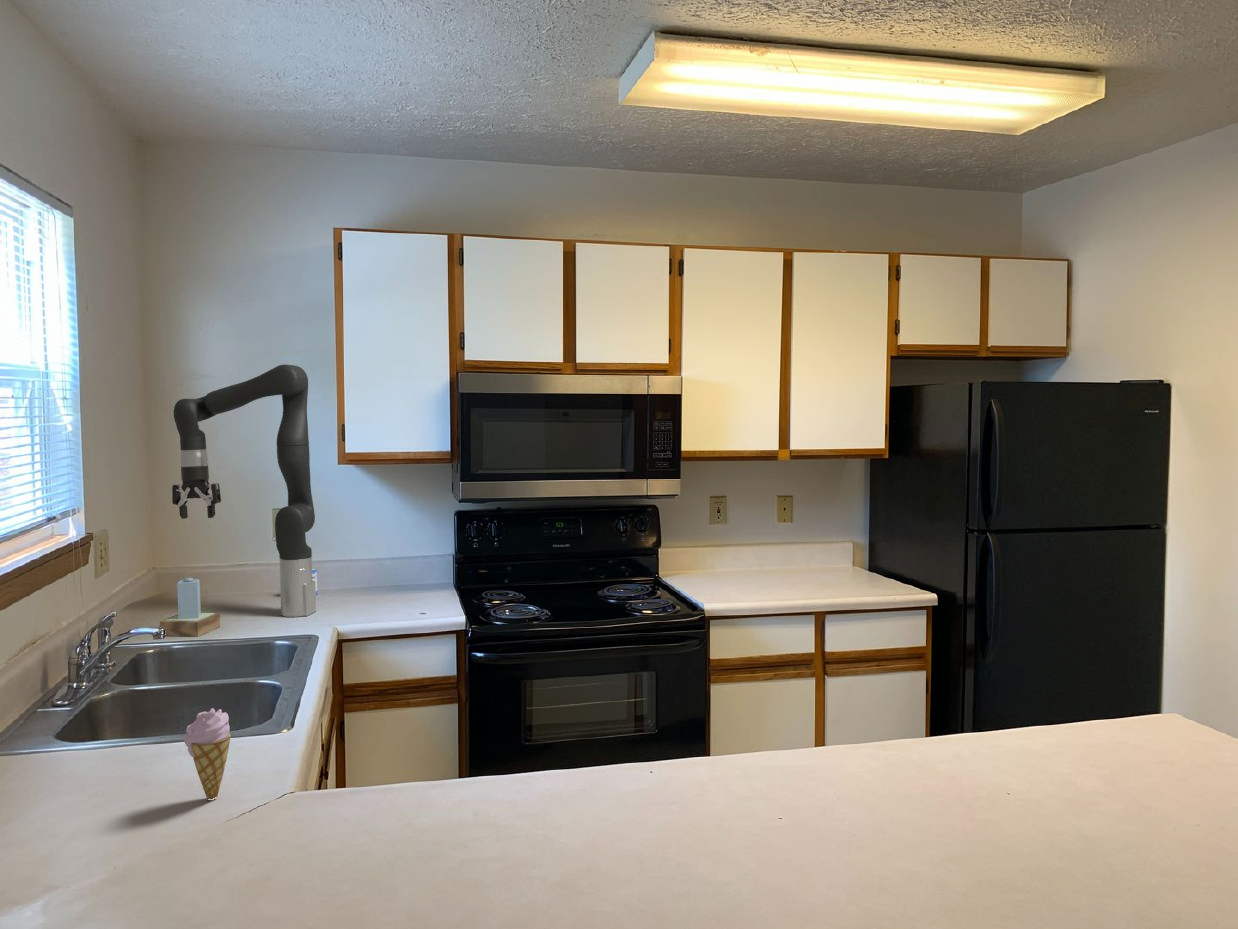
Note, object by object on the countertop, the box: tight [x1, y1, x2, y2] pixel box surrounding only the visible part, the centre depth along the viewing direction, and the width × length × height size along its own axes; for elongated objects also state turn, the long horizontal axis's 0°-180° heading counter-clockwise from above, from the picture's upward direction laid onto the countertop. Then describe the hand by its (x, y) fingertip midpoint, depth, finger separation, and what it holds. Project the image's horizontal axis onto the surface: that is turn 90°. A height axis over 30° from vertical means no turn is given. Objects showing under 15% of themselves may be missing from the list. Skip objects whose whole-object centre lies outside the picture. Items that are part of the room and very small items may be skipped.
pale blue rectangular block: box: [176, 577, 202, 619], centre depth 248 cm, size 5×5×11 cm
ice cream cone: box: [183, 707, 232, 799], centre depth 141 cm, size 7×6×15 cm
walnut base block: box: [159, 612, 221, 638], centre depth 248 cm, size 11×11×4 cm
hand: (197, 518), depth 268 cm, fingers open, 8 cm apart
